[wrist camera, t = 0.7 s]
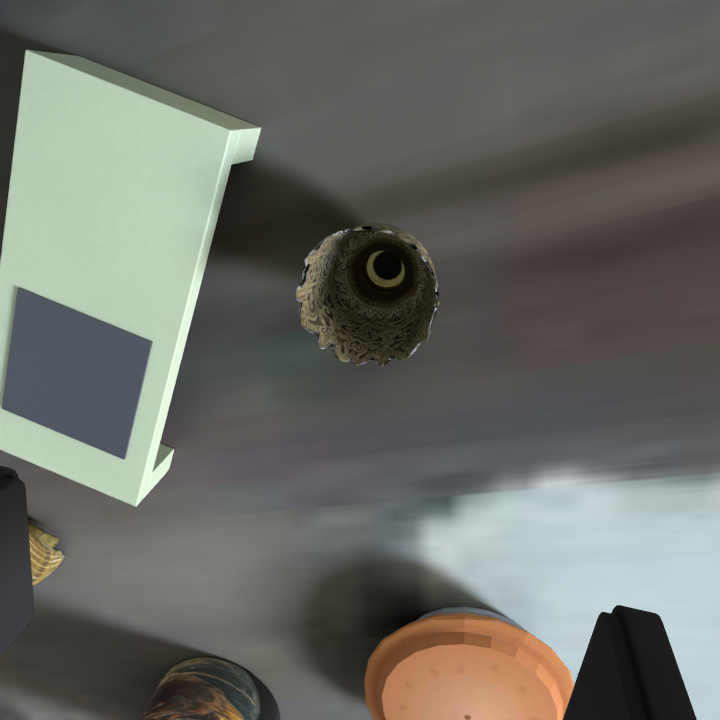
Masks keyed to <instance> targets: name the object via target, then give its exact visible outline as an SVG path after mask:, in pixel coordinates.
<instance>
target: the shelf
mask: <svg viewBox="0 0 720 720" xmlns="http://www.w3.org/2000/svg"><path fill="white" fill-rule="evenodd" d="M260 130H261V128H260V127H258V126H255V125H253V124H250V123H248V122H245V121H243V120H240V119H238V118H235V117H233V116H230V115H228V114H225V113H222V112H220V111H217V110H215V109H212V108H210V107H207V106H205V105H202V104H200V103H197V102H194V101H192V100H189V99H187V98H184V97H182V96H179V95H177V94H174V93H172V92H169V91H166V90H164V89H161V88H159V87H156V86H154V85H151V84H149V83H146V82H144V81H141V80H139V79H136V78H133V77H131V76H128V75H126V74H123V73H121V72H118V71H116V70H113V69H111V68H108V67H105V66H103V65H100V64H98V63H95V62H93V61H90V60H88V59H85V58H83V57H80V56H73V55H66V54H58V53H50V52H42V51H34V50H26V51H25V58H24V67H23V75H22V83H21V92H20V100H19V109H18V117H17V125H16V134H15V142H14V150H13V159H12V167H11V176H10V184H9V192H8V201H7V209H6V218H5V226H4V234H3V243H2V251H1V260H0V450H2V451H5V452H7V453H9V454H12V455H14V456H16V457H19V458H21V459H24V460H26V461H28V462H31V463H33V464H35V465H38V466H40V467H43V468H45V469H47V470H50V471H52V472H55V473H57V474H59V475H62V476H64V477H66V478H69V479H71V480H74V481H76V482H78V483H81V484H83V485H86V486H88V487H90V488H93V489H95V490H97V491H100V492H102V493H105V494H107V495H109V496H112V497H114V498H116V499H119V500H121V501H124V502H126V503H128V504H131V505H133V506H137V505H138V504H139V503H140V502H141V501H142V499H143V498H144V497H145V496H146V495H147V494H148V493H149V492H150V490H151V489H152V488H153V487H154V486H155V485H156V484H157V483H158V481H159V480H160V479H161V478H162V477H163V476H164V475H165V473H166V472H167V471H168V470H169V467H170V463H171V460H172V456H173V452H174V449H172V448H170V447H168V446H165V445H163V444H160V440H161V436H162V432H163V429H164V425H165V421H166V417H167V413H168V409H169V405H170V401H171V398H172V394H173V390H174V386H175V382H176V378H177V374H178V370H179V367H180V363H181V359H182V355H183V351H184V347H185V343H186V339H187V336H188V332H189V328H190V324H191V320H192V316H193V312H194V308H195V305H196V301H197V297H198V293H199V289H200V285H201V281H202V277H203V274H204V270H205V266H206V262H207V258H208V254H209V250H210V246H211V243H212V239H213V235H214V231H215V227H216V223H217V219H218V215H219V211H220V208H221V204H222V200H223V196H224V192H225V188H226V184H227V180H228V177H229V173H230V169H231V165H232V164H236V163H241V162H246V161H250V160H253V156H254V153H255V149H256V145H257V142H258V138H259V134H260Z"/></svg>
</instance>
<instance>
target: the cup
mask: <svg viewBox="0 0 720 720" xmlns="http://www.w3.org/2000/svg"><path fill="white" fill-rule="evenodd" d="M384 253H390V254H393V255H395V256H396V257H397V258H398V260H399V262H400V271H399V273H398V274H397V275H396V276H395V277H394V278H391V279H385V278H382V277H380V276H379V275H378V274H377V273H376V271H375V267H374V264H375V260H376V259H377V257H378V256H380V255H381V254H384ZM304 263H305V265H306V268H305V270H304V271H303V278H302V282H301V284H300V285H299V286H298V287H297V288H296V300H297V301H299V302H300V306H299V316H300V321H301V324H302V326H303V327H304V328H305V329H306V330H308V331H309V332H312V333H313V334H315V335H316V336H317V345H318V346H319V348H320V349H325V348H328V347H331V346H332V347H333V353H334V356H335V357H336V358H337V359H338V360H339V361H342V362H348V361H350V360H351V362H353V364H354V365H355V366H359V365H362V364H365V363H370V362H371V361H372V360H375V362H376V364H378V365H379V366H384V365H386V364H387V363H388V362H389V361H390V360H391V359H397V360H401V359H405V358H408V357H410V356H411V355H412V354H413V353H414V352H415V351H416V349H417V348H418V347H419V346H420V345H421V343H422V342H425V341H426V340H427V339H428V337H429V335H430V333H431V326H432V322H433V320H434V318H435V316H436V310H437V307H438V306H439V294H438V284H437V280H436V274H435V270H434V266H433V263H432V261H431V258H430V256H429V255H428V253H427V251H426V250H425V248H424V247H423V245H422V244H421V243H420V242H419V241H418V240H417V239H416V238H415V237H414V236H412V235H411V234H410V233H408V232H406V231H405V230H403V229H401V228H398V227H395V226H392V225H387V224H380V223H373V224H364V225H359V226H355V227H352V228H348V229H344V230H341V231H338V232H336V233H333V234H331V235H329V236H327V237H325V238H324V239H323V240H322V241H321V242H320V243H319V244H318V246H317V247H316V248H315V249H313V250H312V251H311V252H310V253H309V254H308V255H307V256H306V257H305V259H304Z"/></svg>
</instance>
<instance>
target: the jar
mask: <svg viewBox="0 0 720 720" xmlns="http://www.w3.org/2000/svg"><path fill="white" fill-rule="evenodd" d="M138 720H280V714H279V709H278V706H277V703H276V701H275V699H274V697H273V696H272V694H271V693H270V691H269V690H268V689H267V687H266V686H265V685H264V684H263V683H262V682H261V681H260V680H259V679H258V678H257V677H255V676H254V675H253V674H251V673H250V672H249V671H247V670H245V669H244V668H242V667H240V666H238V665H235V664H233V663H230V662H228V661H224V660H220V659H215V658H193V659H188V660H185V661H182V662H180V663H178V664H176V665H175V666H173V667H172V668H171V669H169V670H168V671H167V673H166V674H165V675H164V677H163V678H162V680H161V681H160V683H159V685H158V686H157V688H156V690H155V692H154V693H153V695H152V697H151V698H150V700H149V702H148V704H147V705H146V707H145V709H144V711H143V712H142V714H141V716H140V718H139V719H138Z"/></svg>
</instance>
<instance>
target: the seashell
mask: <svg viewBox="0 0 720 720" xmlns="http://www.w3.org/2000/svg"><path fill="white" fill-rule="evenodd" d="M28 530H29V543H30V556H31V570H32V583H33V585H35V584H37V583H38V582H40V581H42V580H43V579H44V578H46V577H47V576H48V575H50V574H51V573H52V572H53V571H54V570H55V569H57V568H58V567H59V566H60V564H61V563H62V562H63V560H64V558H65V556H64V555H62V553H61V551H59V550H55V549H54V548H55V547H56V544H57V543H58V542H59V539H58V538H57V537H56V536H54V535H50V534H49V533H47V532H46V531H44V530H43V529H40V528H38V527H36V526H33V525H28Z"/></svg>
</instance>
